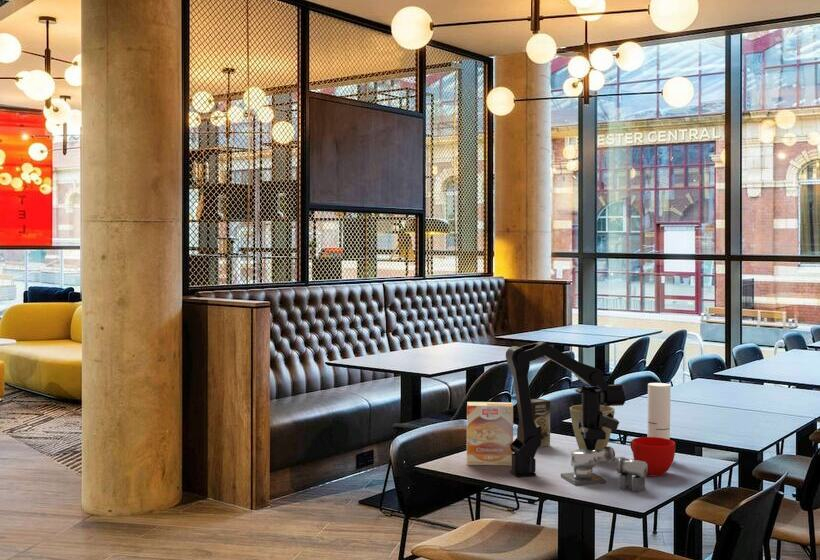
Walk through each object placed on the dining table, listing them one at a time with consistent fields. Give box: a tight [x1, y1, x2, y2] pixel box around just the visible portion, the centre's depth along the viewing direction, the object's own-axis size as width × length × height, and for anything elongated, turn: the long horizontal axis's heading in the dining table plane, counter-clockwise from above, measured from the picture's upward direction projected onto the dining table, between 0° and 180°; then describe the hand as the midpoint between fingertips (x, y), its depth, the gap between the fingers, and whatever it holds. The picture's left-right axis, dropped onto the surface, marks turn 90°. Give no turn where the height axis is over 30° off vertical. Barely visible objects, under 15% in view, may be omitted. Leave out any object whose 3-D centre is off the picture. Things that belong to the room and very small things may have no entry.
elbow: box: [570, 445, 616, 468], centre depth 268 cm, size 15×7×4 cm, turn 125°
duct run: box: [616, 456, 648, 494], centre depth 255 cm, size 8×5×9 cm, turn 50°
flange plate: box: [560, 467, 607, 486], centre depth 266 cm, size 10×10×4 cm
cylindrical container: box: [646, 382, 671, 440], centre depth 290 cm, size 7×7×25 cm
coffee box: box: [531, 398, 551, 448], centre depth 311 cm, size 9×6×16 cm
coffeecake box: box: [466, 401, 514, 467], centre depth 286 cm, size 15×7×20 cm, turn 86°
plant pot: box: [569, 404, 616, 450], centre depth 297 cm, size 15×15×16 cm
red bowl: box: [629, 436, 676, 477], centre depth 275 cm, size 13×17×10 cm
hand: (590, 456), depth 277 cm, fingers closed
